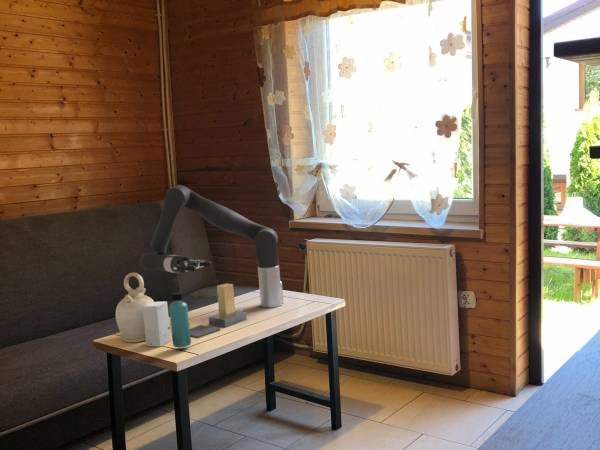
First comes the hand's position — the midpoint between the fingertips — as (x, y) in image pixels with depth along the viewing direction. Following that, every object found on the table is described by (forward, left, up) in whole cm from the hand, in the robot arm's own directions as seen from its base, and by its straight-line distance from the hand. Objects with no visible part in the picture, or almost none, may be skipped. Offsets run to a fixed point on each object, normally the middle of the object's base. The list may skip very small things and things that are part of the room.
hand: (202, 266), depth 262 cm
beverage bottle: (+32, +22, -22) cm, 45 cm away
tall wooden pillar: (0, +12, -19) cm, 22 cm away
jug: (+31, -4, -22) cm, 38 cm away
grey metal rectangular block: (0, +12, -22) cm, 25 cm away
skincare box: (+32, +9, -22) cm, 40 cm away
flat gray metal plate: (+15, +12, -22) cm, 29 cm away
